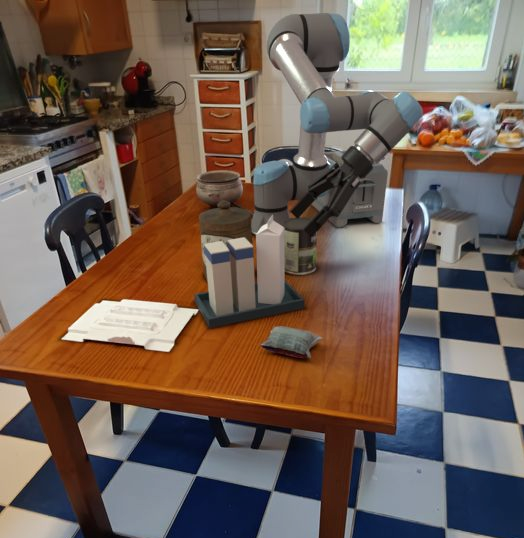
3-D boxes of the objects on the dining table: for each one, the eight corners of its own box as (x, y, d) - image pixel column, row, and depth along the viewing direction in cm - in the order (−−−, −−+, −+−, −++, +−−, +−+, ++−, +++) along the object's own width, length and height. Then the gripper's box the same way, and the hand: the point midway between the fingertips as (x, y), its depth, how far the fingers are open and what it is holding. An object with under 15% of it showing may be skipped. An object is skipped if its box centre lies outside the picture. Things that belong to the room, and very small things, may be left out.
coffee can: (317, 262, 151) (319, 217, 143) (314, 276, 142) (315, 229, 134) (285, 260, 152) (285, 216, 145) (279, 274, 144) (279, 228, 136)
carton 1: (209, 305, 128) (203, 243, 118) (226, 301, 129) (221, 240, 120) (216, 316, 122) (210, 253, 113) (233, 313, 124) (229, 250, 114)
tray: (195, 302, 130) (194, 294, 129) (282, 285, 137) (282, 277, 136) (209, 328, 119) (208, 319, 117) (304, 308, 126) (304, 299, 125)
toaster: (339, 232, 172) (343, 172, 161) (309, 204, 199) (311, 152, 188) (387, 226, 176) (394, 167, 164) (352, 200, 203) (356, 148, 191)
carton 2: (231, 300, 129) (227, 239, 120) (247, 297, 131) (244, 237, 121) (239, 311, 124) (235, 249, 115) (255, 308, 125) (253, 246, 116)
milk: (258, 303, 128) (254, 221, 116) (263, 293, 133) (260, 213, 120) (280, 305, 127) (279, 223, 114) (285, 294, 131) (284, 214, 119)
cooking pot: (237, 216, 189) (235, 184, 183) (190, 215, 192) (187, 183, 185) (248, 197, 210) (247, 168, 203) (205, 196, 213) (203, 167, 206)
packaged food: (274, 335, 115) (274, 317, 113) (322, 345, 111) (323, 327, 108) (259, 354, 109) (258, 336, 106) (309, 366, 105) (310, 347, 102)
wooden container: (195, 281, 141) (187, 206, 129) (217, 262, 152) (211, 191, 140) (243, 288, 136) (239, 211, 124) (261, 268, 148) (259, 195, 136)
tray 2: (102, 300, 133) (100, 288, 131) (199, 312, 128) (198, 300, 126) (60, 339, 116) (56, 326, 114) (170, 355, 111) (168, 342, 109)
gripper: (394, 180, 105) (324, 251, 111) (355, 155, 126) (298, 217, 132) (373, 156, 101) (302, 231, 108) (337, 134, 122) (279, 199, 128)
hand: (300, 223), depth 120 cm, fingers open, 13 cm apart
